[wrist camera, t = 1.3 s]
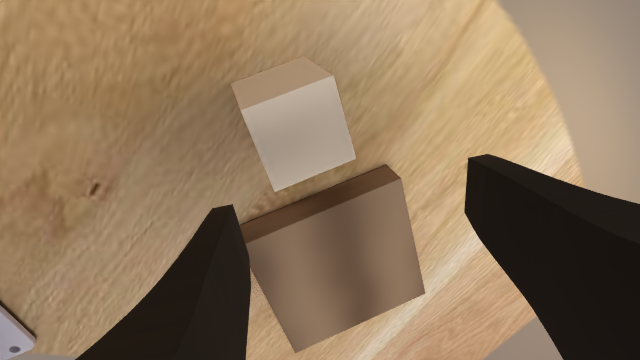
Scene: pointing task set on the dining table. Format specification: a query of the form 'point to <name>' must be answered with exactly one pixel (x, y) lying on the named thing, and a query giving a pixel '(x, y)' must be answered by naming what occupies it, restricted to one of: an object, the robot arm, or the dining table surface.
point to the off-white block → (295, 121)
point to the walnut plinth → (336, 257)
